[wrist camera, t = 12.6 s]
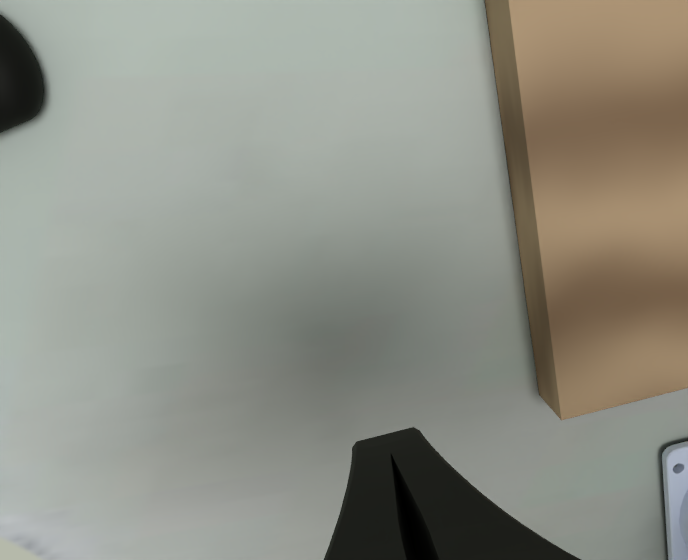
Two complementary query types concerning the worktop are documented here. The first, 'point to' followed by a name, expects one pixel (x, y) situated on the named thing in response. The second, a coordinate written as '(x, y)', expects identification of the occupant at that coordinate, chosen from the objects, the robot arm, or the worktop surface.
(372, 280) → the worktop surface
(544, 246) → the walnut board
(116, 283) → the worktop surface
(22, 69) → the door handle
